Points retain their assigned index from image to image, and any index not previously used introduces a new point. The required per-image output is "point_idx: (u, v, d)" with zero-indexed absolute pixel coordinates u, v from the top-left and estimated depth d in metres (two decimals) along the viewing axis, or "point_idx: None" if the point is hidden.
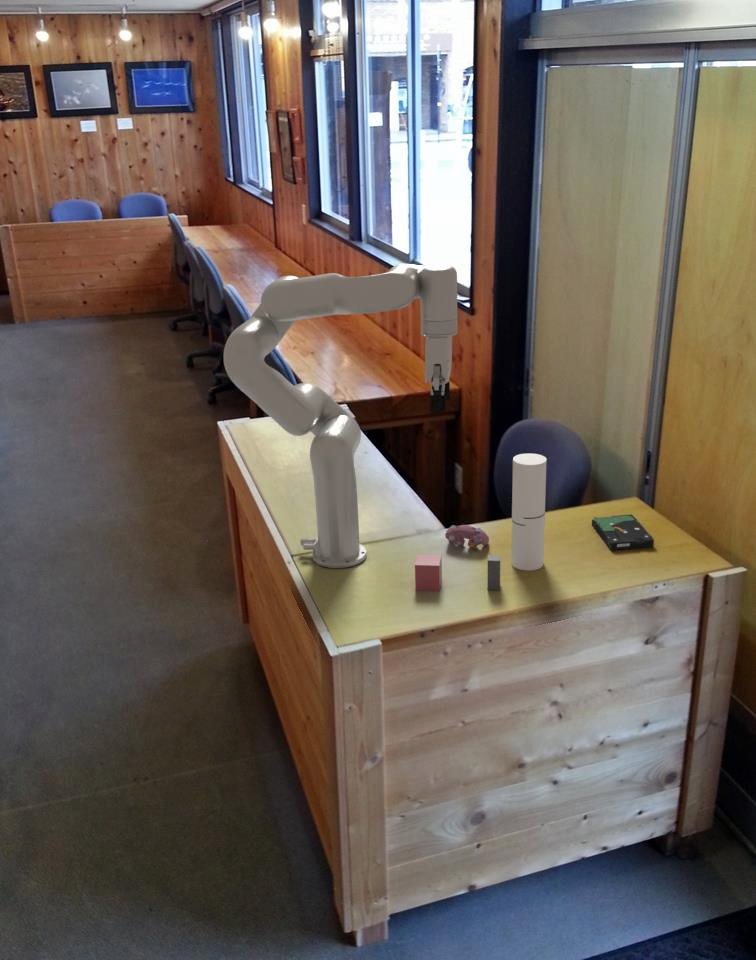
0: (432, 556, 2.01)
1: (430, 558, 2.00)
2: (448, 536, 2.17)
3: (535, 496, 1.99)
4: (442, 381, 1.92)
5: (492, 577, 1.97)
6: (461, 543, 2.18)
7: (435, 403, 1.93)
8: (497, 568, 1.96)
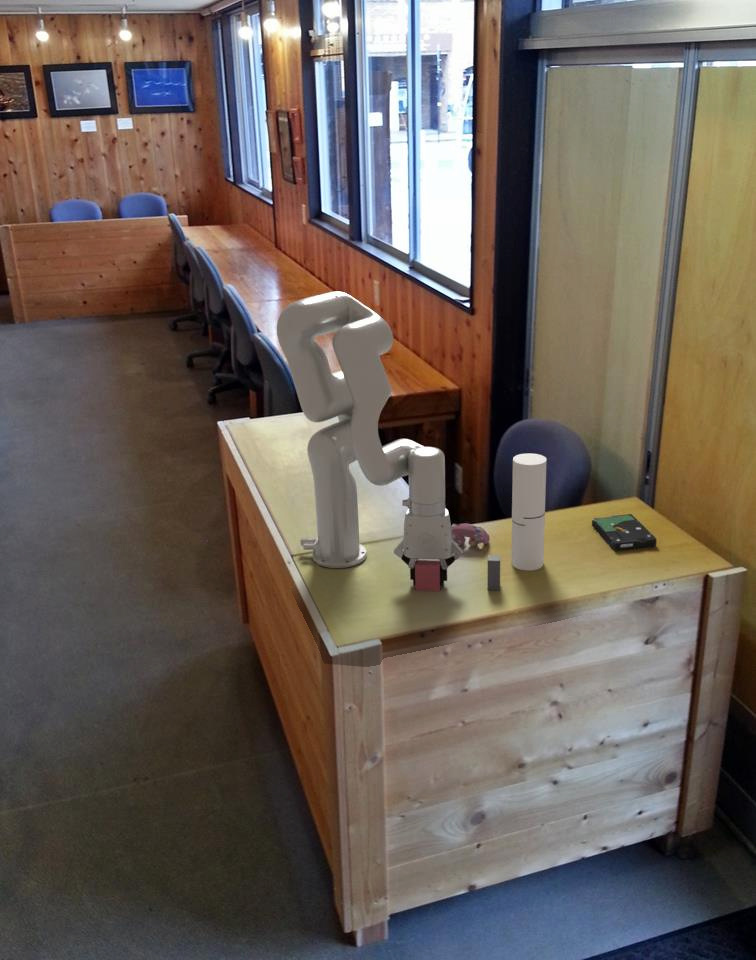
0: None
1: None
2: None
3: (535, 496, 1.99)
4: None
5: (492, 577, 1.97)
6: (462, 541, 2.19)
7: (446, 574, 1.99)
8: (497, 568, 1.96)
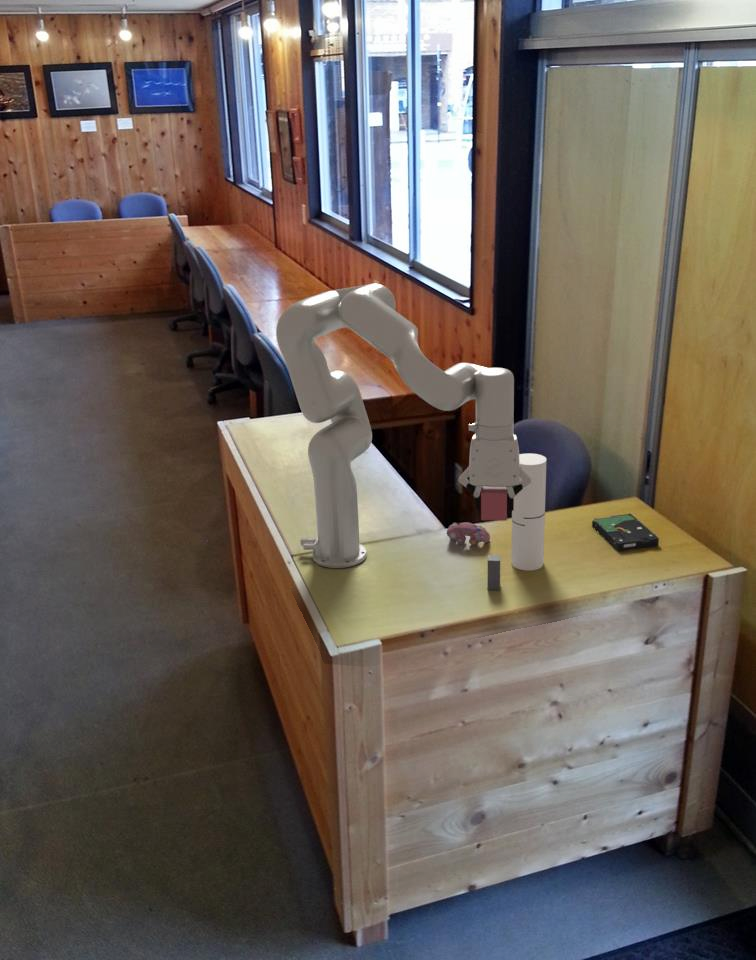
0: None
1: (496, 487, 1.91)
2: (449, 533, 2.18)
3: (535, 496, 1.99)
4: None
5: (492, 577, 1.97)
6: (462, 540, 2.19)
7: (513, 504, 1.91)
8: (497, 568, 1.96)
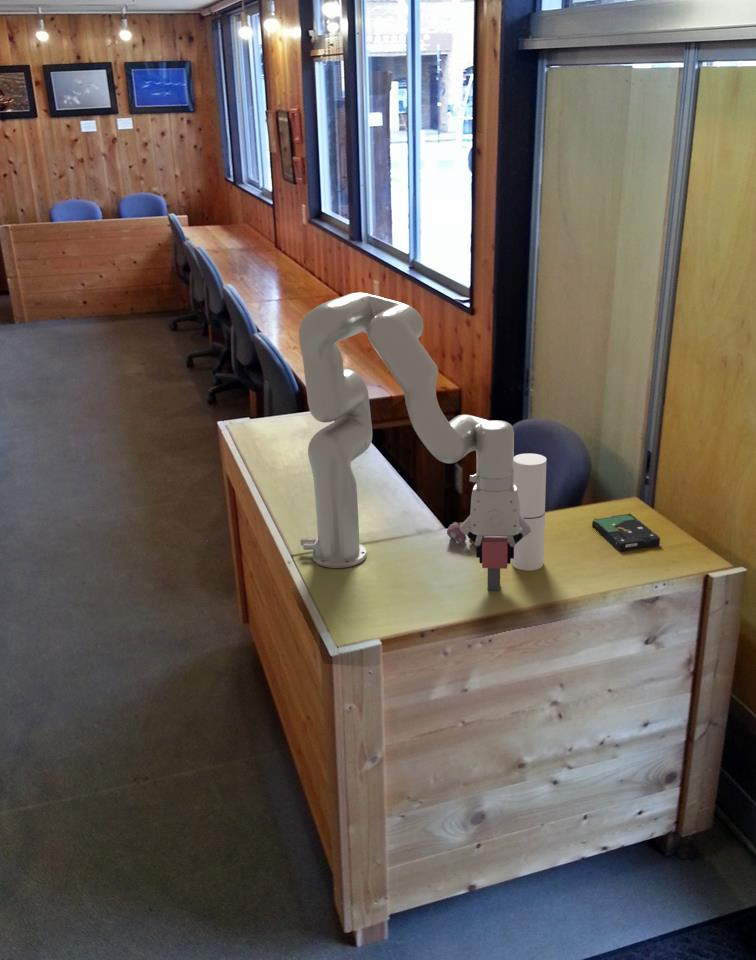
0: None
1: None
2: (450, 533, 2.19)
3: (535, 496, 1.99)
4: None
5: (492, 577, 1.97)
6: (463, 540, 2.20)
7: (513, 552, 1.95)
8: (497, 568, 1.96)
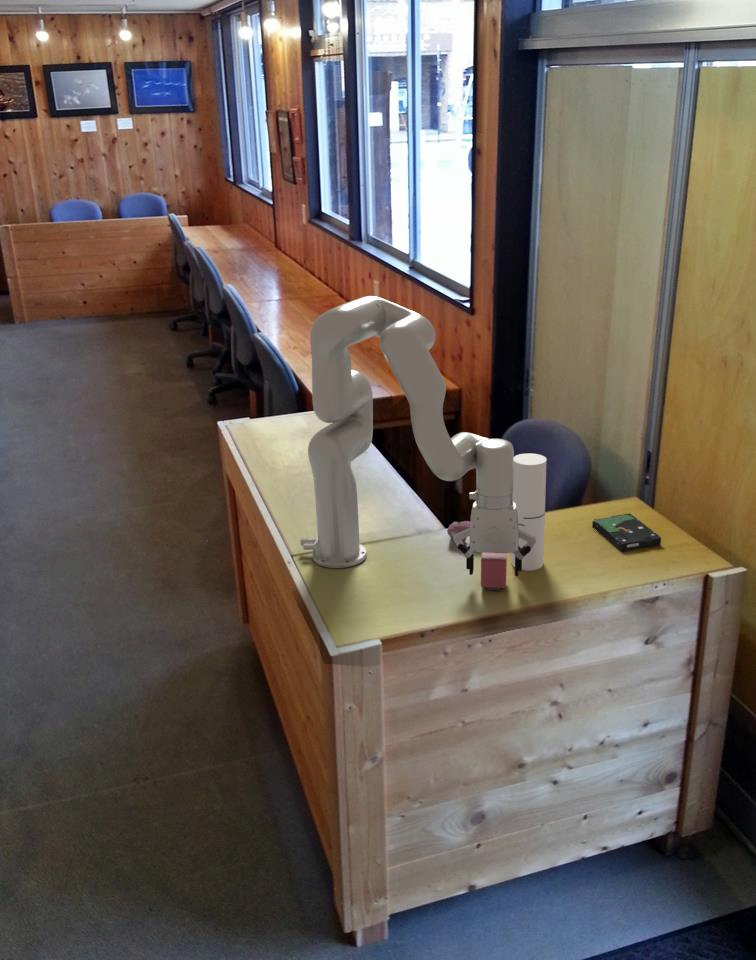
0: None
1: (496, 554, 1.97)
2: (450, 532, 2.19)
3: (535, 496, 1.99)
4: None
5: None
6: (463, 539, 2.20)
7: (521, 564, 1.96)
8: None
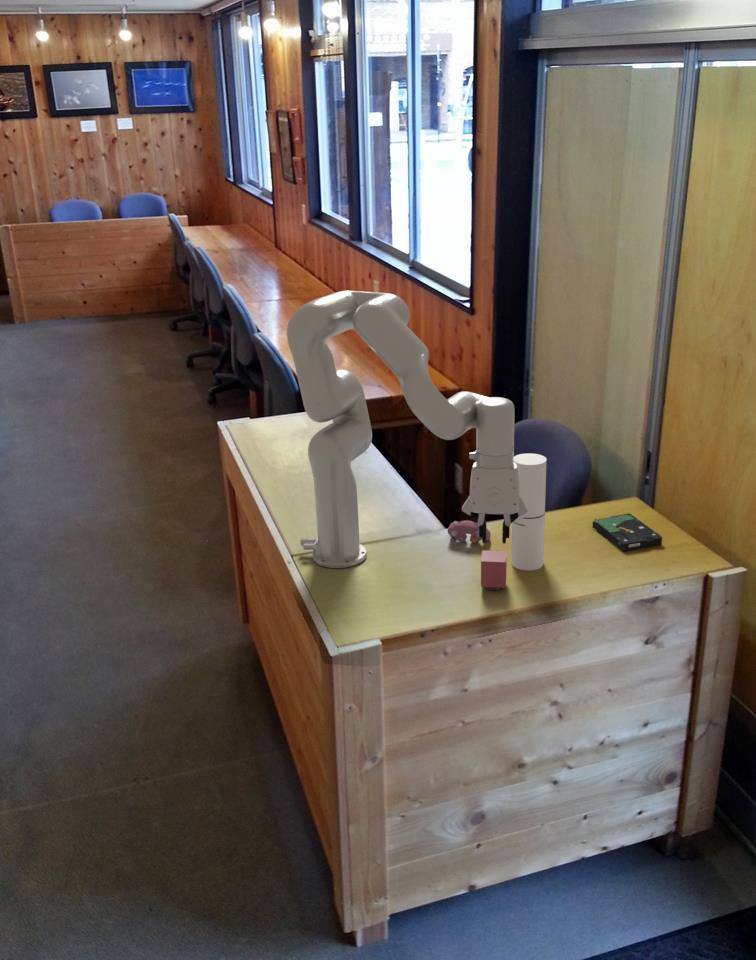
0: (497, 552, 1.98)
1: (496, 554, 1.97)
2: (450, 532, 2.19)
3: (535, 496, 1.99)
4: None
5: None
6: (463, 538, 2.20)
7: (509, 531, 1.93)
8: None
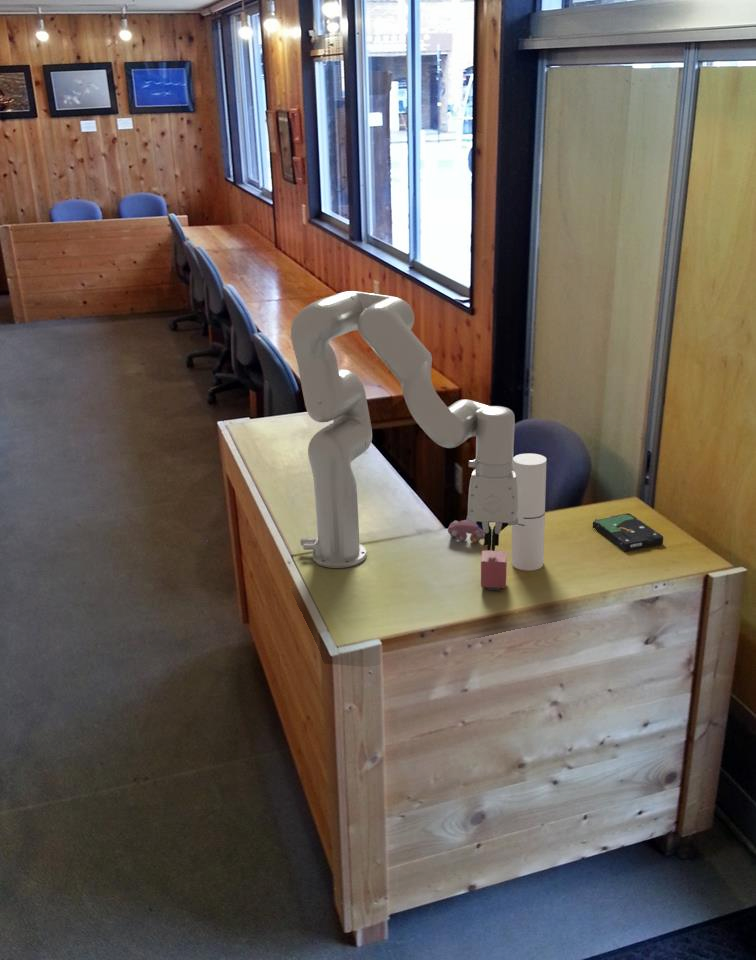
0: (497, 552, 1.98)
1: (496, 554, 1.97)
2: (450, 531, 2.20)
3: (535, 496, 1.99)
4: None
5: None
6: (464, 538, 2.21)
7: (498, 539, 1.95)
8: None
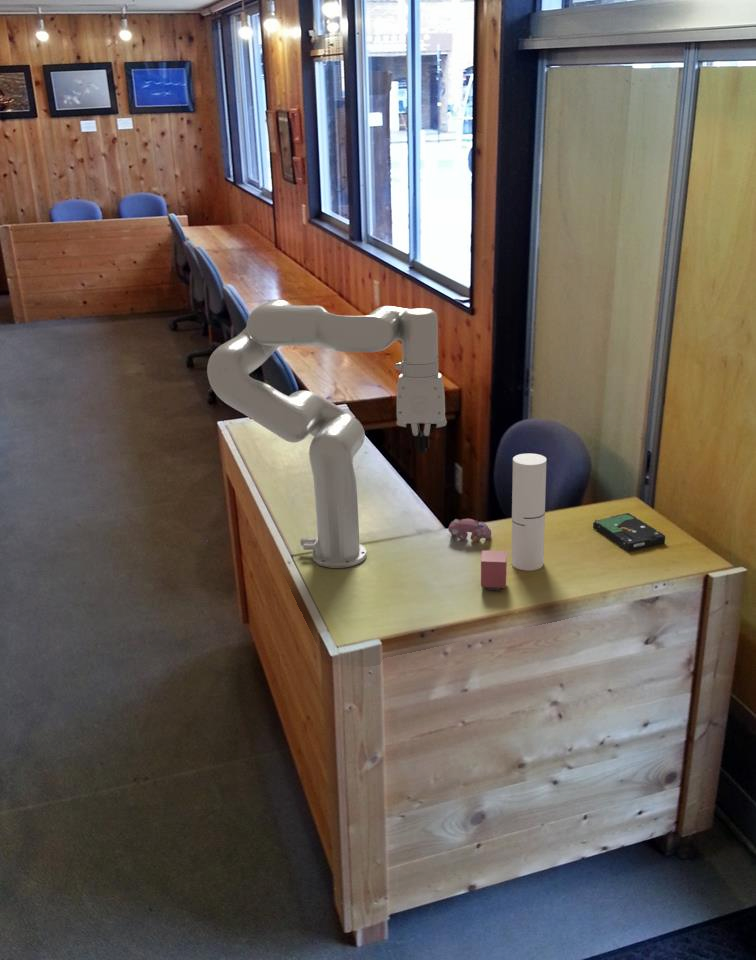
0: (497, 552, 1.98)
1: (496, 554, 1.97)
2: (451, 530, 2.20)
3: (535, 496, 1.99)
4: None
5: None
6: (464, 537, 2.21)
7: (428, 442, 2.00)
8: None
